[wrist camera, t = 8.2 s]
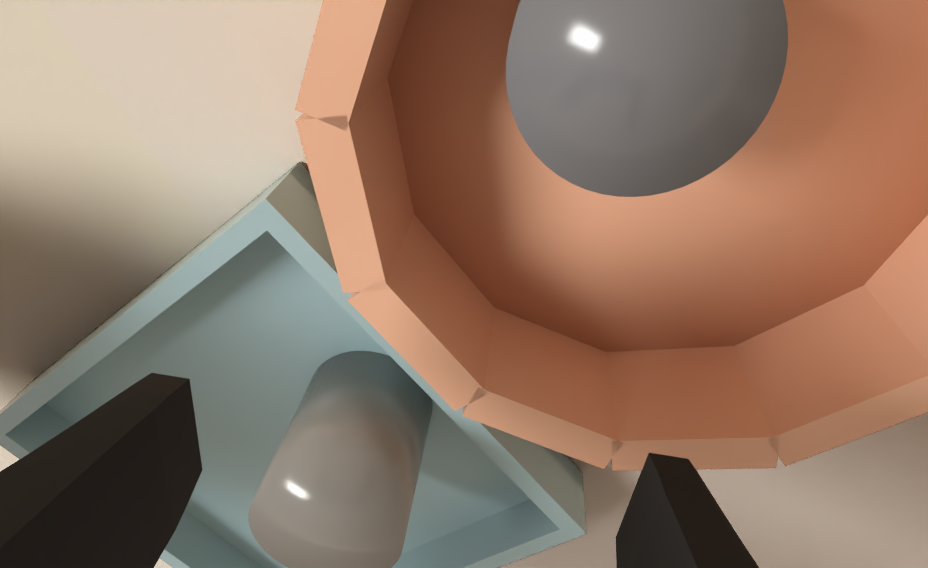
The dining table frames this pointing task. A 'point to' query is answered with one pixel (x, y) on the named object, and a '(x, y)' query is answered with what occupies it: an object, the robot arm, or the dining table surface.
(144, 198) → the dining table surface
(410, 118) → the terracotta bowl
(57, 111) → the dining table surface
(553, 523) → the parts tray
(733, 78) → the charcoal pebble
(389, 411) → the slate pebble
